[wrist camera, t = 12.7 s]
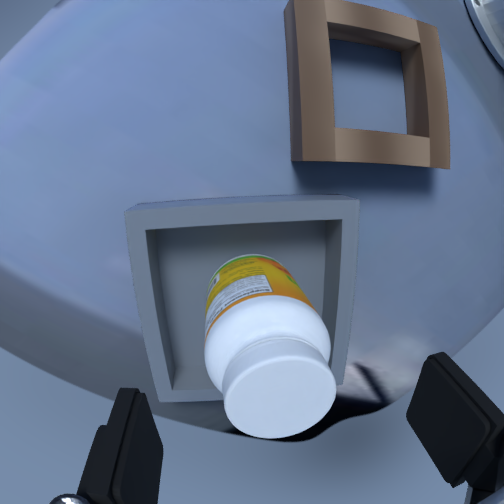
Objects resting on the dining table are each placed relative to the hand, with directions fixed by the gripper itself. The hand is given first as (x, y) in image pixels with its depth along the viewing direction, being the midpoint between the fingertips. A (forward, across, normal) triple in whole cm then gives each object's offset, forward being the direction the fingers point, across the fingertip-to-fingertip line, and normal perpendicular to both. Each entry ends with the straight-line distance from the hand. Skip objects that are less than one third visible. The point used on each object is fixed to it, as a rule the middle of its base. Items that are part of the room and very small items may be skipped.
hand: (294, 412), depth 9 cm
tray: (+11, +1, +1) cm, 11 cm away
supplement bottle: (+11, 0, +1) cm, 11 cm away
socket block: (+12, -7, -12) cm, 18 cm away
